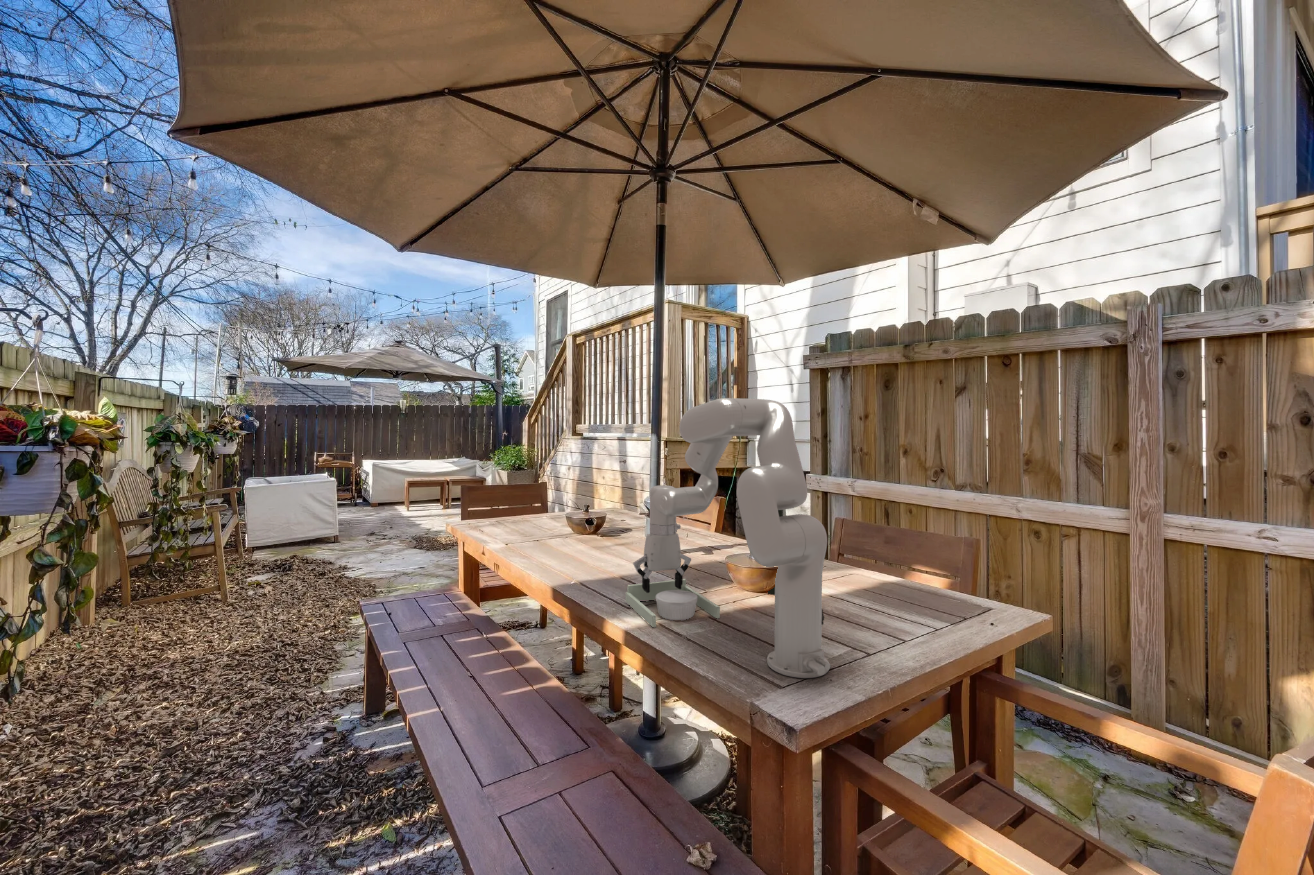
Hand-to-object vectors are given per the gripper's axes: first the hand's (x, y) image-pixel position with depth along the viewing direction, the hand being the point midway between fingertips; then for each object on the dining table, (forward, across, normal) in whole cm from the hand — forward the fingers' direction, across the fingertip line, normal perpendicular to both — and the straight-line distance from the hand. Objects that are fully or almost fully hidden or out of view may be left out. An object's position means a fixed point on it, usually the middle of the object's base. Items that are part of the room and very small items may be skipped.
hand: (662, 589), depth 155 cm
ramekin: (+4, 0, +10) cm, 11 cm away
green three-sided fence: (+4, 0, +6) cm, 7 cm away
